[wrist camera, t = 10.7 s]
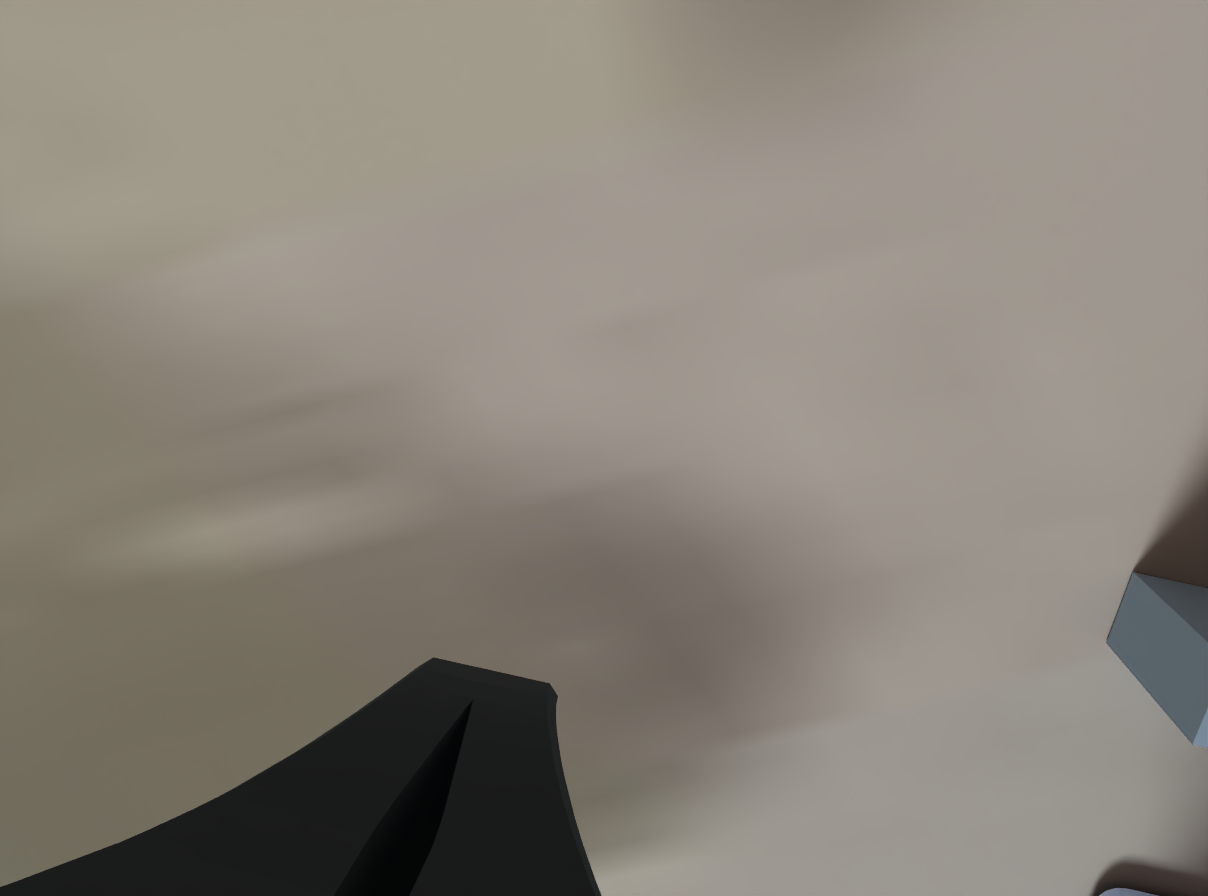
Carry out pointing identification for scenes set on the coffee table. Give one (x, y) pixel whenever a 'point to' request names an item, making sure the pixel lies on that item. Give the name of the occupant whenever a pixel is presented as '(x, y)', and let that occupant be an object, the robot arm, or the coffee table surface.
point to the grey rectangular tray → (1167, 648)
